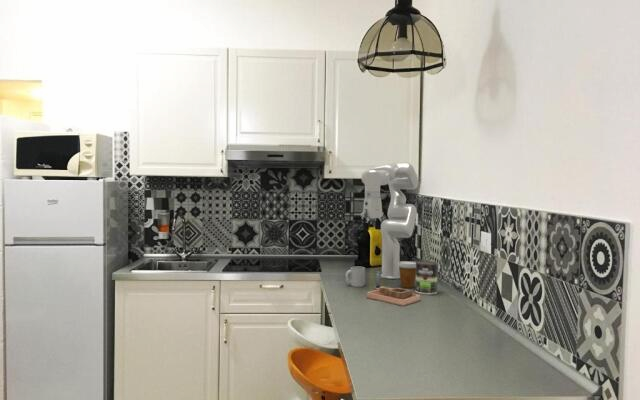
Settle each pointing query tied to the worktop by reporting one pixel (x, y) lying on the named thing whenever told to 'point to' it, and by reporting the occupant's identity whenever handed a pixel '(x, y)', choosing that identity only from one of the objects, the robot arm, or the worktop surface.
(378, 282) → the grey piece
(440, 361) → the worktop surface
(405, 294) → the brown square frame
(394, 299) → the tray
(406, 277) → the disposable coffee cup
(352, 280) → the cup
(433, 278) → the coffee can
